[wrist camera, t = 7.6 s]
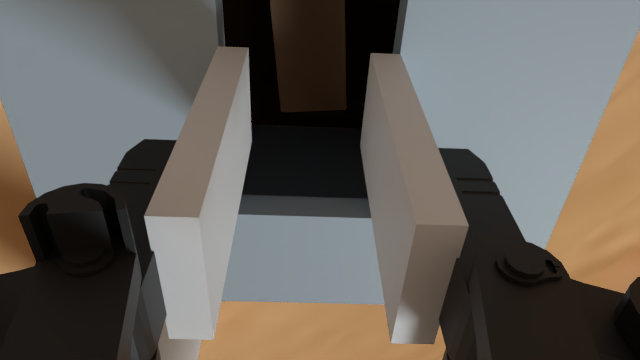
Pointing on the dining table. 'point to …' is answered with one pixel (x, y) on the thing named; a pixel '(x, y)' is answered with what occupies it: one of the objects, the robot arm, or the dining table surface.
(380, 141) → the robot arm
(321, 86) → the brown square block
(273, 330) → the dining table surface
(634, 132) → the dining table surface
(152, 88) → the coin box
